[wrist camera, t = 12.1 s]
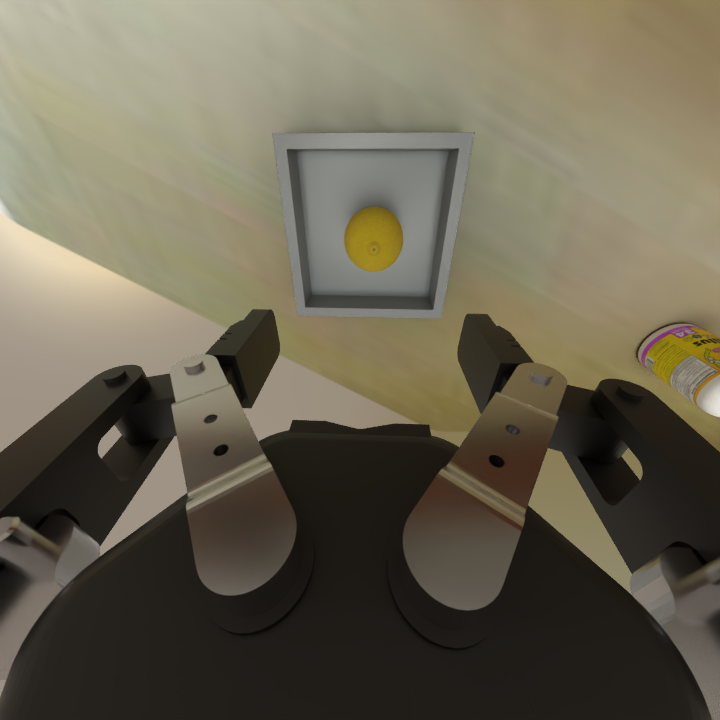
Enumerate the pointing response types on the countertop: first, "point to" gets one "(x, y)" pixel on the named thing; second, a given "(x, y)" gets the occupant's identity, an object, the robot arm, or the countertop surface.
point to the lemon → (373, 239)
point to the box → (369, 189)
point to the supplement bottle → (686, 363)
